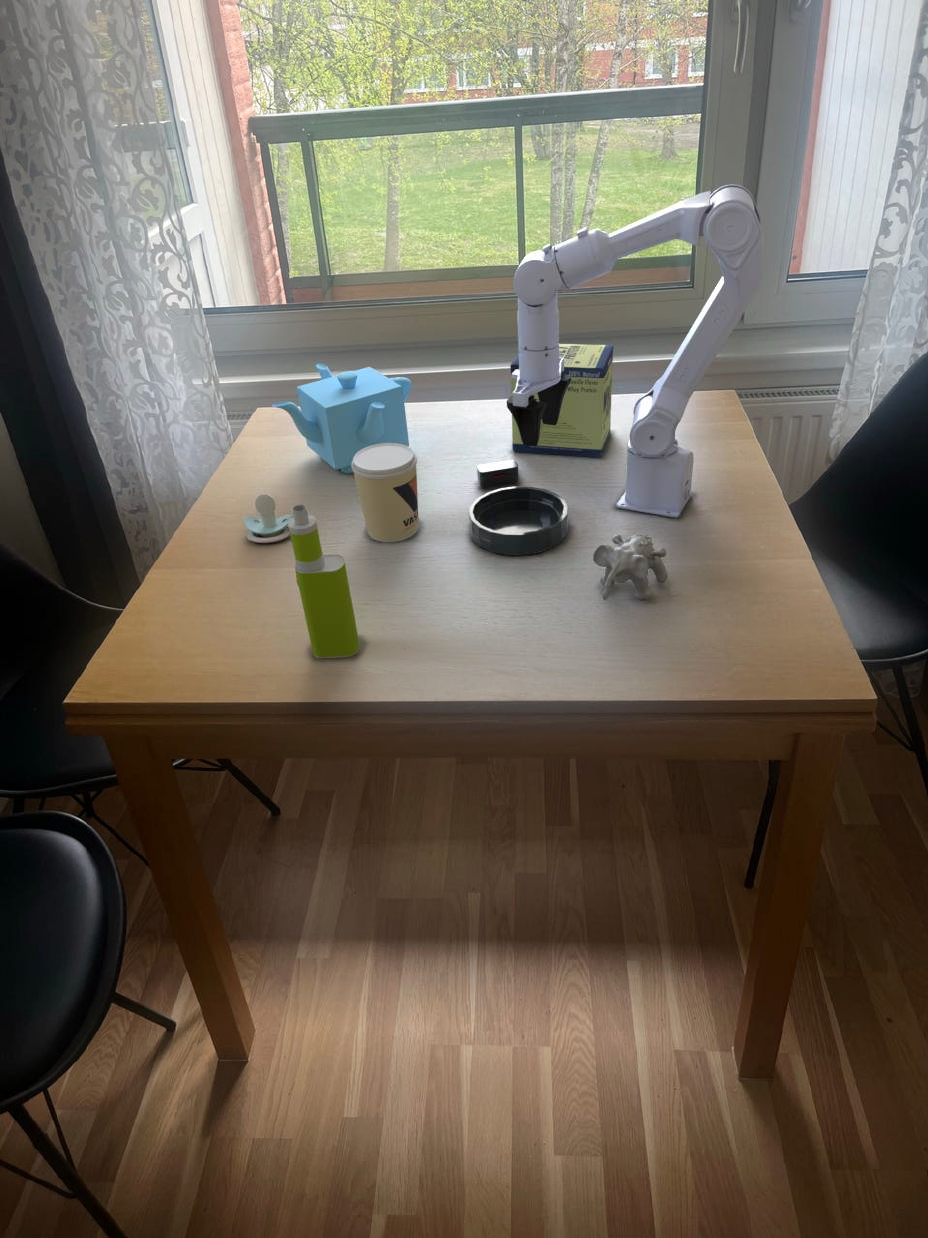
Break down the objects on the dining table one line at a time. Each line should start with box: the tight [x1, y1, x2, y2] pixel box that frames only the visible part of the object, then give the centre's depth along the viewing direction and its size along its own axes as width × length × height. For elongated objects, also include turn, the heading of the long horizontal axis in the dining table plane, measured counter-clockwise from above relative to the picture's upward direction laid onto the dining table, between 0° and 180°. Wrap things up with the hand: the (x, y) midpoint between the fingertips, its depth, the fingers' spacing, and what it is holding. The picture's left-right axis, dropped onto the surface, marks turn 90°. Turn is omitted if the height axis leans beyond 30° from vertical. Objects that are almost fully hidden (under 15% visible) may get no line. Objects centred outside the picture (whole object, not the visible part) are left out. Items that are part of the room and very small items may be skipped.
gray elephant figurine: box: [592, 532, 669, 601], centre depth 114 cm, size 9×12×8 cm
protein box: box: [509, 343, 614, 459], centre depth 150 cm, size 10×16×16 cm
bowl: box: [468, 485, 569, 556], centre depth 131 cm, size 14×14×4 cm
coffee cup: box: [352, 443, 419, 543], centre depth 131 cm, size 9×9×12 cm
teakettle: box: [271, 363, 413, 474], centre depth 151 cm, size 19×19×15 cm
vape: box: [287, 504, 360, 659], centre depth 106 cm, size 4×6×20 cm, turn 90°
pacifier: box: [243, 493, 294, 544], centre depth 134 cm, size 7×6×6 cm
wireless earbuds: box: [476, 459, 520, 490], centre depth 144 cm, size 5×7×3 cm, turn 102°
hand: (540, 434), depth 134 cm, fingers open, 7 cm apart
